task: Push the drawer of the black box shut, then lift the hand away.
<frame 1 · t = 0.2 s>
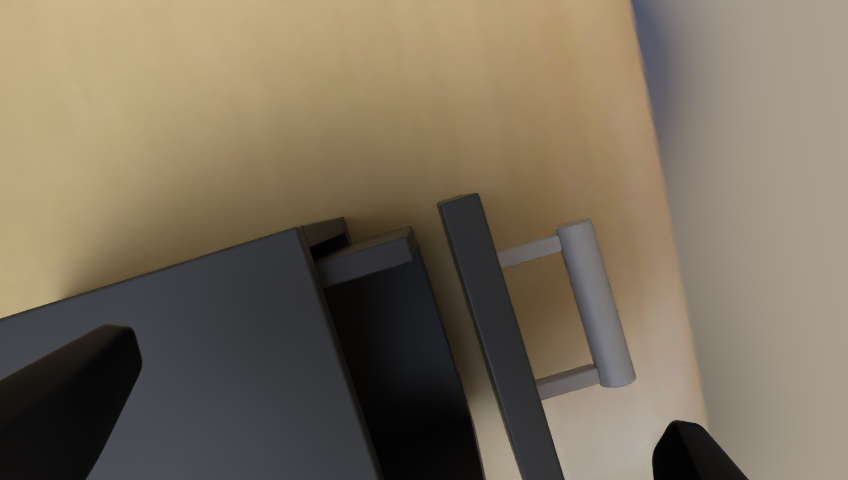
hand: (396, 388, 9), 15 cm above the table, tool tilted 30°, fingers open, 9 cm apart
drawer: (397, 362, 19), point 4 cm above the table, slide at 4.0 cm
black box: (239, 382, 24), on the table
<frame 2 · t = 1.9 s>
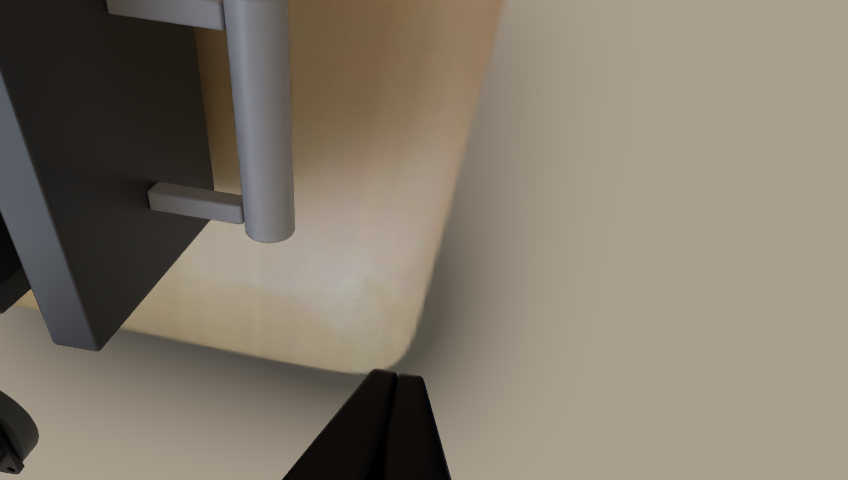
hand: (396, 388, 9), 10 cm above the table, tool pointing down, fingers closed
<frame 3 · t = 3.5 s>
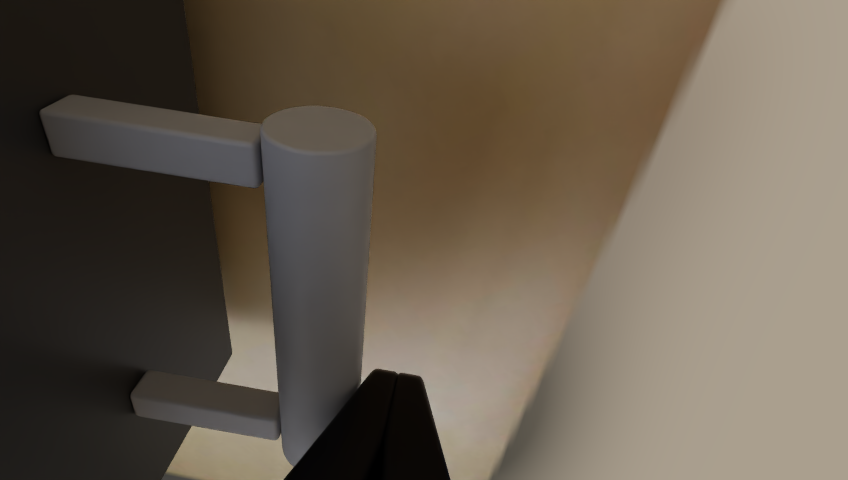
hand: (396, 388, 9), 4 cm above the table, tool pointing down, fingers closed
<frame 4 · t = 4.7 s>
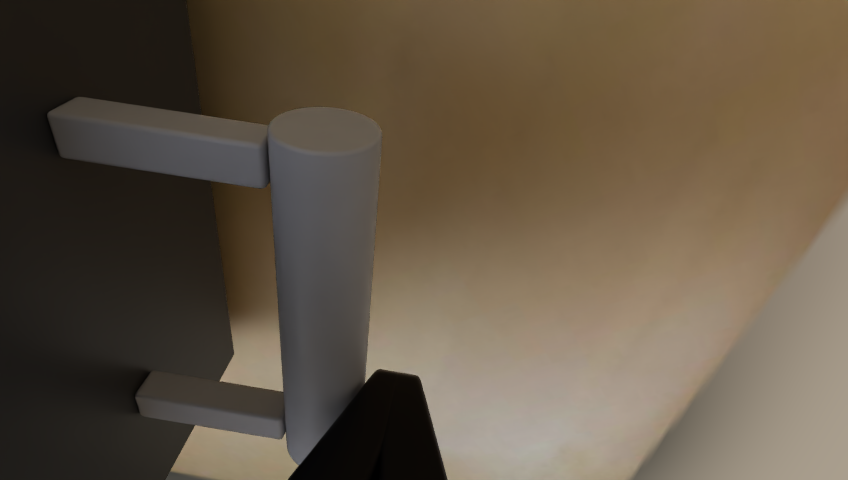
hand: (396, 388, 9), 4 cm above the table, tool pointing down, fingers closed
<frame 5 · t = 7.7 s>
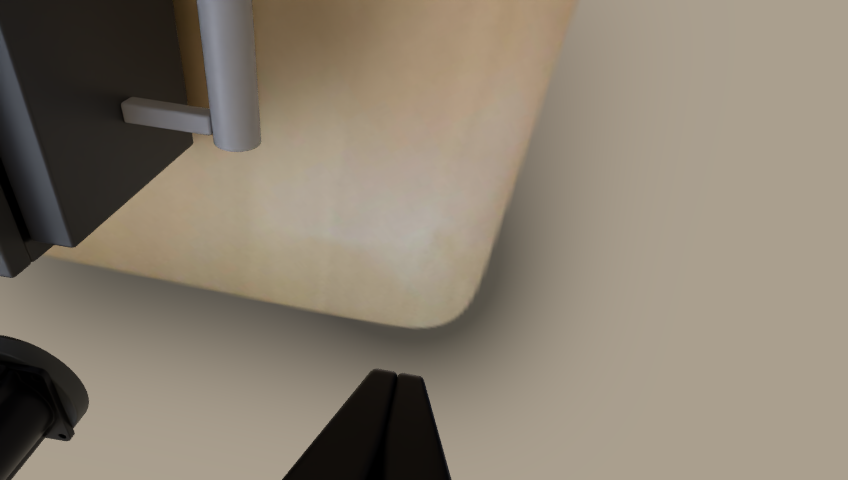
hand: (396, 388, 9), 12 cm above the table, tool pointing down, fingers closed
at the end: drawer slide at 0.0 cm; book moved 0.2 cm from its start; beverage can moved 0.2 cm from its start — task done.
